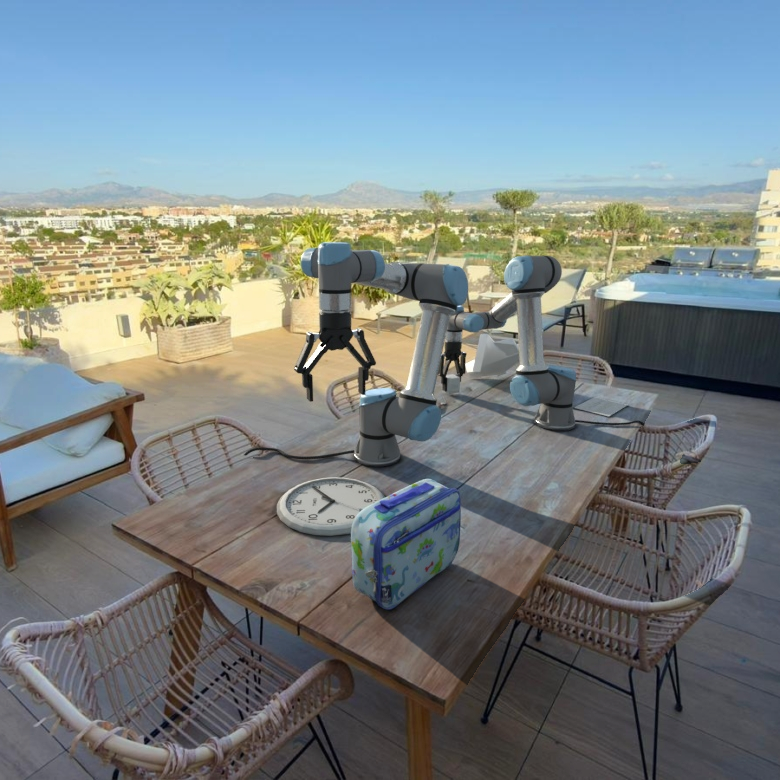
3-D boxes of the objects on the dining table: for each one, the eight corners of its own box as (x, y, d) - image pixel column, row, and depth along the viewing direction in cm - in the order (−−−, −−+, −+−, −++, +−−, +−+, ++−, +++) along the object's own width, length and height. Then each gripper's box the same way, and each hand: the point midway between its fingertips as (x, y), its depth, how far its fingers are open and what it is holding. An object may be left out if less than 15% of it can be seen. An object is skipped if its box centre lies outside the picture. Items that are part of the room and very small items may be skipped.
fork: (432, 412, 216) (432, 407, 215) (442, 400, 230) (442, 396, 229) (438, 413, 215) (438, 408, 214) (447, 401, 229) (448, 397, 228)
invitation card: (608, 416, 214) (573, 407, 224) (608, 416, 214) (573, 408, 224) (628, 404, 229) (594, 396, 238) (628, 405, 229) (594, 397, 238)
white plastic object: (486, 419, 265) (465, 396, 240) (467, 347, 287) (447, 319, 262) (557, 395, 253) (543, 369, 228) (532, 321, 275) (517, 290, 250)
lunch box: (380, 623, 100) (381, 528, 94) (344, 596, 108) (343, 505, 101) (464, 565, 118) (470, 482, 112) (428, 545, 125) (432, 466, 119)
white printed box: (452, 389, 243) (453, 373, 241) (459, 392, 238) (460, 377, 236) (441, 390, 241) (442, 375, 239) (448, 394, 236) (449, 378, 233)
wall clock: (392, 527, 129) (268, 531, 127) (391, 533, 130) (269, 537, 127) (383, 473, 158) (282, 475, 155) (383, 478, 158) (282, 480, 156)
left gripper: (376, 305, 131) (376, 386, 137) (278, 311, 121) (282, 398, 127) (390, 310, 125) (388, 394, 131) (287, 316, 114) (291, 407, 121)
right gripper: (466, 337, 239) (463, 385, 246) (430, 340, 231) (428, 390, 238) (476, 340, 233) (472, 389, 240) (439, 343, 225) (436, 394, 232)
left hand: (336, 396), depth 129 cm, fingers open, 13 cm apart
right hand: (450, 389), depth 239 cm, fingers closed on white printed box, 6 cm apart
